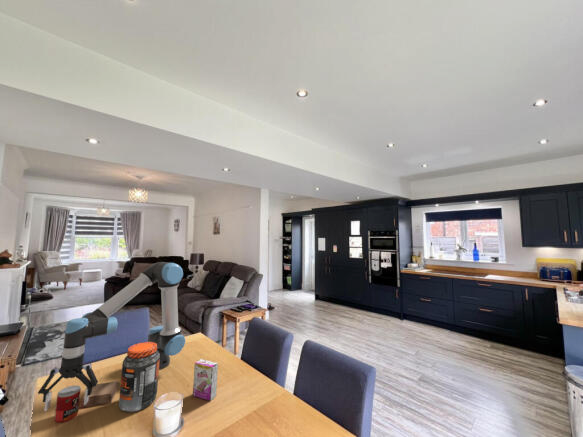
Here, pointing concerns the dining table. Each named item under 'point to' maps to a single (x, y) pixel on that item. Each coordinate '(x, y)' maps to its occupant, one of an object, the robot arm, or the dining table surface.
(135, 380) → the supplement tub
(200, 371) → the candy bar box
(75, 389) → the canned food
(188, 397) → the dining table surface
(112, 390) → the plinth
